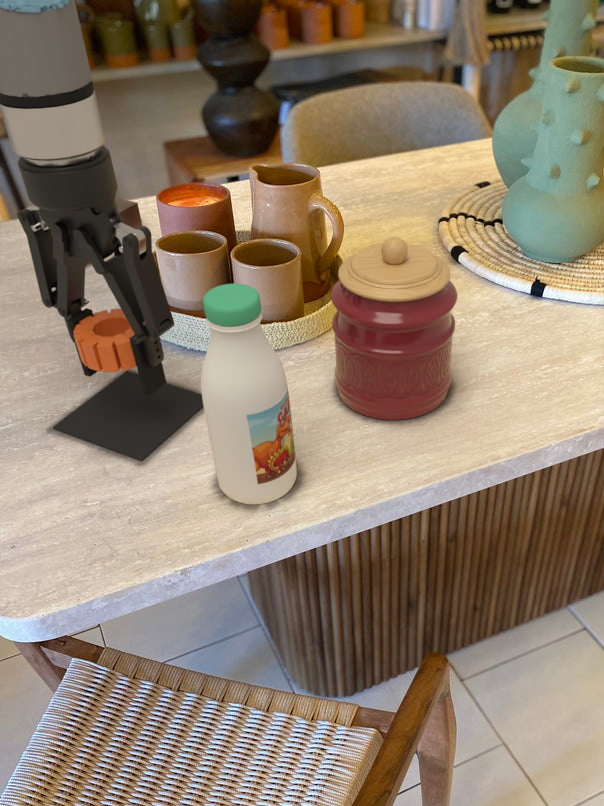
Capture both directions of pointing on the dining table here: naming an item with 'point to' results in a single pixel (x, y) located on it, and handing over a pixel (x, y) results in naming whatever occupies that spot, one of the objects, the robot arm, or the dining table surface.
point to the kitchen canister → (393, 330)
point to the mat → (131, 416)
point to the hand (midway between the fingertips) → (125, 378)
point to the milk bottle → (246, 400)
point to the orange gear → (105, 341)
